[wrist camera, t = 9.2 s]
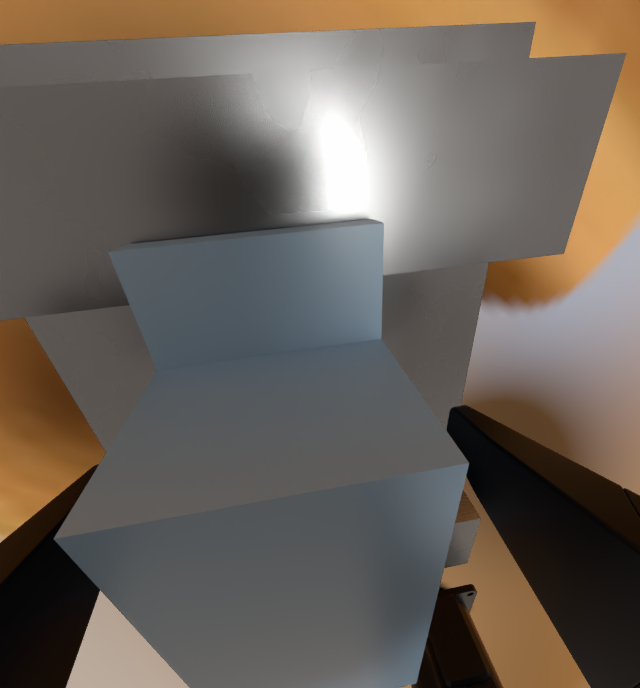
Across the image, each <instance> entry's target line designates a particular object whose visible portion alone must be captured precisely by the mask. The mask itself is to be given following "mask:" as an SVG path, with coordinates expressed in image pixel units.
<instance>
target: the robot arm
mask: <svg viewBox="0 0 640 688" xmlns="http://www.w3.org/2000/svg"><path fill="white" fill-rule="evenodd" d="M447 432H448V434H449V435H450V437H451V438H452V439H453V441H454V442H455V444H456V445H457V447H458V448H459V449H460V451H461V452H462V454H463V455H464V456H465V458H466V459H467V461H468V462H469V466H468V470H467V475H466V476H467V478H468V480H469V482H470V484H471V486H472V488H473V490H474V492H475V494H476V495H477V497H478V499H479V500H480V502H481V504H482V505H483V507H484V509H485V511H486V512H487V514H488V516H489V517H490V519H491V521H492V522H493V524H494V526H495V527H496V529H497V531H498V532H499V534H500V536H501V538H502V539H503V541H504V543H505V544H506V546H507V548H508V549H509V551H510V553H511V554H512V556H513V558H514V559H515V561H516V563H517V564H518V566H519V568H520V569H521V571H522V572H523V574H524V576H525V578H526V579H527V581H528V583H529V585H530V586H531V588H532V590H533V591H534V593H535V595H536V596H537V598H538V600H539V601H540V603H541V605H542V606H543V608H544V610H545V611H546V613H547V615H548V616H549V618H550V620H551V621H552V623H553V625H554V626H555V628H556V630H557V632H558V633H559V635H560V637H561V638H562V640H563V641H564V643H565V645H566V647H567V648H568V650H569V652H570V653H571V655H572V657H573V658H574V660H575V662H576V663H577V665H578V667H579V669H580V670H581V672H582V674H583V675H584V677H585V679H586V680H587V682H588V684H589V685H590V687H591V688H640V496H639V495H637V494H636V493H634V492H632V491H630V490H628V489H625V488H624V489H623V488H622V487H621V486H620V485H618V484H616V483H614V482H612V481H610V480H608V479H607V478H605V477H603V476H601V475H599V474H597V473H595V472H593V471H591V470H589V469H588V468H586V467H584V466H582V465H580V464H578V463H576V462H574V461H572V460H570V459H568V458H566V457H565V456H562V455H561V454H559V453H557V452H555V451H553V450H551V449H549V448H547V447H545V446H543V445H542V444H539V443H538V442H536V441H534V440H532V439H530V438H528V437H526V436H524V435H522V434H520V433H519V432H517V431H515V430H513V429H511V428H509V427H507V426H505V425H503V424H501V423H499V422H497V421H496V420H493V419H492V418H490V417H488V416H486V415H484V414H482V413H480V412H478V411H476V410H474V409H472V408H471V407H468V406H466V405H462V406H456V407H452V408H451V409H450V412H449V417H448V423H447ZM98 466H99V464H97V465H95V466H93V467H92V468H91V469H90V470H88V471H87V472H86V473H85V474H84V475H82V476H81V477H80V478H79V479H77V480H76V481H75V482H74V483H73V484H71V485H70V486H69V487H68V488H66V489H65V490H64V491H63V492H62V493H60V494H59V495H58V496H57V497H56V498H54V499H53V500H52V501H51V502H49V503H48V504H47V505H46V506H45V507H43V508H42V509H41V510H40V511H38V512H37V513H36V514H35V515H34V516H32V517H31V518H30V519H29V520H27V521H26V522H25V523H24V524H23V525H21V526H20V527H19V528H18V529H17V530H15V531H14V532H13V533H12V534H10V535H9V536H8V537H7V538H6V539H4V540H3V541H2V542H1V543H0V688H66V685H67V682H68V679H69V676H70V674H71V671H72V668H73V665H74V663H75V660H76V657H77V654H78V651H79V648H80V646H81V643H82V640H83V637H84V634H85V631H86V628H87V626H88V623H89V620H90V617H91V614H92V611H93V609H94V606H95V603H96V600H97V597H98V594H99V592H100V589H99V588H98V587H97V586H96V585H95V584H94V583H93V582H92V580H91V579H90V578H89V577H88V576H87V575H86V574H85V573H84V572H83V571H82V570H81V568H80V567H79V566H78V565H77V564H76V563H75V562H74V561H73V560H72V559H71V558H70V556H69V555H68V554H67V553H66V552H65V551H64V550H63V549H62V548H61V547H60V546H59V544H58V543H57V542H56V541H55V540H54V537H55V536H56V534H57V533H58V531H59V529H60V528H61V526H62V524H63V523H64V521H65V519H66V518H67V516H68V515H69V513H70V511H71V510H72V508H73V506H74V505H75V503H76V502H77V500H78V498H79V497H80V495H81V493H82V492H83V490H84V488H85V487H86V485H87V484H88V482H89V480H90V479H91V477H92V475H93V474H94V472H95V470H96V469H97V467H98ZM476 594H477V591H476V589H475V587H474V585H472V584H469V585H464V586H460V587H455V588H451V589H446V590H441V591H438V595H437V599H436V604H435V608H434V612H433V616H432V620H431V624H430V629H429V633H428V637H427V641H426V645H425V649H424V654H423V658H422V662H421V666H420V670H419V674H418V679H417V683H416V684H412V685H411V687H412V688H504V687H503V685H502V683H501V681H500V679H499V676H498V674H497V672H496V670H495V668H494V666H493V663H492V661H491V659H490V657H489V655H488V653H487V651H486V649H485V646H484V644H483V642H482V640H481V638H480V635H479V633H478V631H477V629H476V627H475V625H474V622H473V620H472V618H471V616H470V614H469V612H470V610H471V607H472V604H473V602H474V599H475V597H476Z"/></svg>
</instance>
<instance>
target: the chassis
mask: <svg viewBox="0 0 640 688" xmlns="http://www.w3.org/2000/svg"><path fill="white" fill-rule="evenodd" d="M535 24H536V22H522V23H498V24H475V25H452V26H428V27H405V28H381V29H358V30H335V31H311V32H288V33H265V34H241V35H218V36H194V37H171V38H148V39H124V40H101V41H78V42H54V43H31V44H8V45H0V321H1V320H9V319H17V318H25V320H26V321H27V323H28V325H29V326H30V328H31V330H32V331H33V333H34V335H35V336H36V338H37V339H38V341H39V343H40V344H41V346H42V348H43V349H44V351H45V353H46V354H47V356H48V358H49V359H50V361H51V363H52V364H53V366H54V368H55V369H56V371H57V372H58V374H59V376H60V377H61V379H62V381H63V382H64V384H65V386H66V387H67V389H68V391H69V392H70V394H71V396H72V397H73V399H74V401H75V402H76V404H77V405H78V407H79V409H80V410H81V412H82V414H83V415H84V417H85V419H86V420H87V422H88V424H89V425H90V427H91V429H92V430H93V432H94V434H95V435H96V437H97V438H98V440H99V442H100V443H101V445H102V447H103V448H104V450H105V452H106V453H107V451H108V449H109V448H110V446H111V444H112V443H113V441H114V439H115V438H116V436H117V435H118V433H119V431H120V430H121V428H122V426H123V425H124V423H125V422H126V420H127V418H128V417H129V415H130V413H131V412H132V410H133V408H134V407H135V405H136V404H137V402H138V400H139V399H140V397H141V395H142V394H143V392H144V390H145V389H146V387H147V386H148V384H149V382H150V381H151V379H152V377H153V376H154V374H155V373H156V371H157V370H156V367H155V365H154V362H153V360H152V357H151V355H150V353H149V350H148V348H147V345H146V343H145V341H144V338H143V336H142V333H141V331H140V328H139V326H138V324H137V321H136V319H135V316H134V314H133V311H132V309H131V307H130V304H129V302H128V299H127V297H126V295H125V292H124V290H123V287H122V285H121V282H120V280H119V278H118V275H117V273H116V270H115V268H114V265H113V263H112V261H111V258H110V256H109V253H108V252H109V251H112V250H114V249H116V248H119V247H121V246H124V245H126V244H135V243H145V242H154V241H164V240H174V239H183V238H193V237H203V236H212V235H222V234H232V233H241V232H251V231H261V230H271V229H280V228H290V227H300V226H309V225H319V224H329V223H338V222H348V221H358V220H367V219H374V220H377V221H380V222H382V223H384V246H383V288H382V331H381V339H382V341H383V342H384V343H385V345H386V346H387V348H388V349H389V351H390V352H391V353H392V355H393V356H394V358H395V359H396V360H397V362H398V363H399V365H400V366H401V367H402V369H403V370H404V372H405V373H406V375H407V376H408V377H409V379H410V380H411V382H412V383H413V384H414V386H415V387H416V389H417V390H418V391H419V393H420V394H421V396H422V397H423V399H424V400H425V401H426V403H427V404H428V406H429V407H430V408H431V410H432V411H433V413H434V414H435V415H436V417H437V418H438V420H439V421H440V423H441V424H442V425H443V427H444V428H445V430H446V431H447V423H448V417H449V412H450V409H451V408H452V407H456V406H461V401H462V397H463V392H464V386H465V381H466V376H467V371H468V366H469V361H470V356H471V351H472V346H473V340H474V335H475V330H476V325H477V320H478V315H479V310H480V305H481V300H482V295H483V290H484V284H485V279H486V274H487V269H488V264H489V263H490V262H498V261H507V260H515V259H523V258H532V257H540V256H549V255H557V254H564V251H565V248H566V245H567V242H568V238H569V235H570V232H571V229H572V226H573V222H574V219H575V216H576V213H577V210H578V206H579V203H580V200H581V197H582V194H583V190H584V187H585V184H586V181H587V178H588V174H589V171H590V168H591V165H592V162H593V158H594V155H595V152H596V149H597V145H598V142H599V139H600V136H601V133H602V129H603V126H604V123H605V120H606V117H607V113H608V110H609V107H610V104H611V101H612V97H613V94H614V91H615V88H616V85H617V81H618V78H619V75H620V72H621V69H622V65H623V62H624V59H625V56H626V53H619V54H601V55H582V56H564V57H546V58H529V55H530V50H531V45H532V40H533V34H534V29H535ZM480 520H481V517H480V516H479V514H478V513H477V511H476V510H475V508H474V506H473V505H472V503H471V502H470V500H469V498H468V497H467V495H466V493H465V492H464V490H463V491H462V495H461V500H460V504H459V508H458V512H457V516H456V520H455V524H454V529H453V533H452V537H451V541H450V545H449V549H448V554H447V558H446V562H445V566H444V568H447V567H451V566H456V565H461V564H465V563H467V562H468V558H469V555H470V552H471V549H472V546H473V542H474V539H475V536H476V533H477V530H478V526H479V523H480Z"/></svg>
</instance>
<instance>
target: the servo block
mask: <svg viewBox="0 0 640 688" xmlns="http://www.w3.org/2000/svg"><path fill="white" fill-rule="evenodd" d="M383 246H384V223H382V222H380V221H377V220H374V219H367V220H358V221H348V222H338V223H329V224H319V225H309V226H300V227H290V228H280V229H271V230H261V231H251V232H241V233H232V234H222V235H212V236H203V237H193V238H183V239H174V240H164V241H154V242H145V243H135V244H126V245H124V246H121V247H119V248H116V249H114V250H112V251H109V252H108V253H109V256H110V258H111V261H112V263H113V265H114V268H115V270H116V273H117V275H118V278H119V280H120V282H121V285H122V287H123V290H124V292H125V295H126V297H127V299H128V302H129V304H130V307H131V309H132V311H133V314H134V316H135V319H136V321H137V324H138V326H139V328H140V331H141V333H142V336H143V338H144V341H145V343H146V345H147V348H148V350H149V353H150V355H151V357H152V360H153V362H154V365H155V367H156V370H157V371H156V373H155V374H154V376H153V377H152V379H151V381H150V382H149V384H148V386H147V387H146V389H145V390H144V392H143V394H142V395H141V397H140V399H139V400H138V402H137V404H136V405H135V407H134V408H133V410H132V412H131V413H130V415H129V417H128V418H127V420H126V422H125V423H124V425H123V426H122V428H121V430H120V431H119V433H118V435H117V436H116V438H115V439H114V441H113V443H112V444H111V446H110V448H109V449H108V451H107V453H106V454H105V456H104V457H103V459H102V461H101V462H100V464H99V466H98V467H97V469H96V470H95V472H94V474H93V475H92V477H91V479H90V480H89V482H88V484H87V485H86V487H85V488H84V490H83V492H82V493H81V495H80V497H79V498H78V500H77V502H76V503H75V505H74V506H73V508H72V510H71V511H70V513H69V515H68V516H67V518H66V519H65V521H64V523H63V524H62V526H61V528H60V529H59V531H58V533H57V534H56V536H55V537H54V540H55V541H56V542H57V543H58V544H59V546H60V547H61V548H62V549H63V550H64V551H65V552H66V553H67V554H68V555H69V556H70V558H71V559H72V560H73V561H74V562H75V563H76V564H77V565H78V566H79V567H80V568H81V570H82V571H83V572H84V573H85V574H86V575H87V576H88V577H89V578H90V579H91V580H92V582H93V583H94V584H95V585H96V586H97V587H98V588H99V589H100V590H101V591H102V592H103V594H104V595H105V596H106V597H107V598H108V599H109V600H110V601H111V602H112V603H113V604H114V606H116V608H117V609H118V610H119V611H120V612H121V613H122V614H123V615H124V616H125V618H126V619H127V620H128V621H129V622H130V623H131V624H132V625H133V626H134V627H135V628H136V629H137V631H138V632H139V633H140V634H141V635H142V636H143V637H144V638H145V639H146V640H147V642H148V643H149V644H150V645H151V646H152V647H153V648H154V649H155V650H156V651H157V653H158V654H159V655H160V656H161V657H162V658H163V659H164V660H165V661H166V662H167V663H168V664H169V666H170V667H171V668H172V669H173V670H174V671H175V672H176V673H177V674H178V675H179V676H180V678H181V679H182V680H183V681H184V682H185V683H186V684H187V685H188V686H189V687H190V688H400V687H404V686H408V685H412V684H416V683H417V679H418V674H419V670H420V666H421V662H422V658H423V654H424V649H425V645H426V641H427V637H428V633H429V629H430V624H431V620H432V616H433V612H434V608H435V604H436V599H437V595H438V591H439V587H440V583H441V579H442V574H443V570H444V566H445V562H446V558H447V554H448V549H449V545H450V541H451V537H452V533H453V529H454V524H455V520H456V516H457V512H458V508H459V504H460V500H461V495H462V491H463V487H464V483H465V479H466V475H467V470H468V466H469V462H468V461H467V459H466V458H465V456H464V455H463V454H462V452H461V451H460V449H459V448H458V447H457V445H456V444H455V442H454V441H453V439H452V438H451V437H450V435H449V434H448V432H447V431H446V430H445V428H444V427H443V425H442V424H441V423H440V421H439V420H438V418H437V417H436V415H435V414H434V413H433V411H432V410H431V408H430V407H429V406H428V404H427V403H426V401H425V400H424V399H423V397H422V396H421V394H420V393H419V391H418V390H417V389H416V387H415V386H414V384H413V383H412V382H411V380H410V379H409V377H408V376H407V375H406V373H405V372H404V370H403V369H402V367H401V366H400V365H399V363H398V362H397V360H396V359H395V358H394V356H393V355H392V353H391V352H390V351H389V349H388V348H387V346H386V345H385V343H384V342H383V341H382V339H381V331H382V288H383Z"/></svg>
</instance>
